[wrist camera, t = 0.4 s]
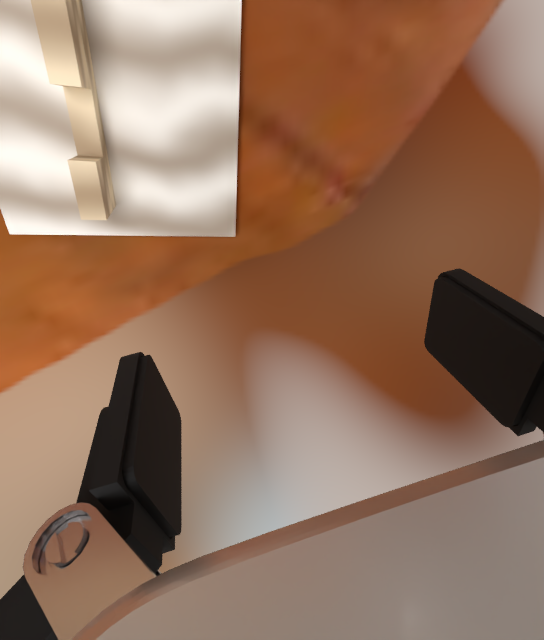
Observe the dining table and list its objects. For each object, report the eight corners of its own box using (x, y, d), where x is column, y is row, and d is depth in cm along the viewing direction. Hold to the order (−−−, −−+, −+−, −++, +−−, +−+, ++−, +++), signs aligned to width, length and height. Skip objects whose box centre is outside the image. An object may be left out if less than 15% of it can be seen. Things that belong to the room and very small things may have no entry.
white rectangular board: (-215, -442, 15) (-428, -737, 10) (245, -262, 20) (267, -390, 15) (16, 229, 32) (-17, 253, 27) (233, 232, 38) (242, 252, 32)
